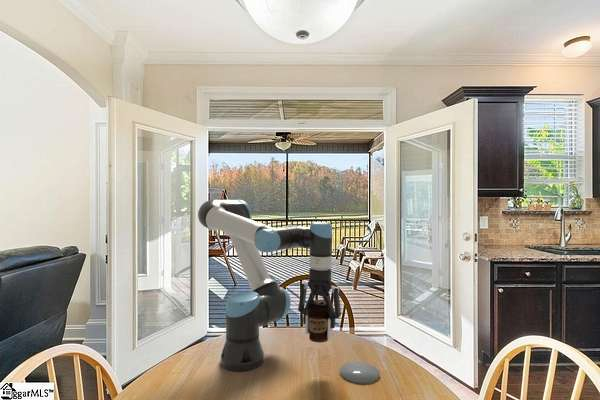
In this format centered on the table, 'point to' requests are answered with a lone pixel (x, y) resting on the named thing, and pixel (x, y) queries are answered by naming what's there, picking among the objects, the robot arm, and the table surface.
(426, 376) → the table surface
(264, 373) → the table surface
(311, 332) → the coffee cup
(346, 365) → the grey domed puck
